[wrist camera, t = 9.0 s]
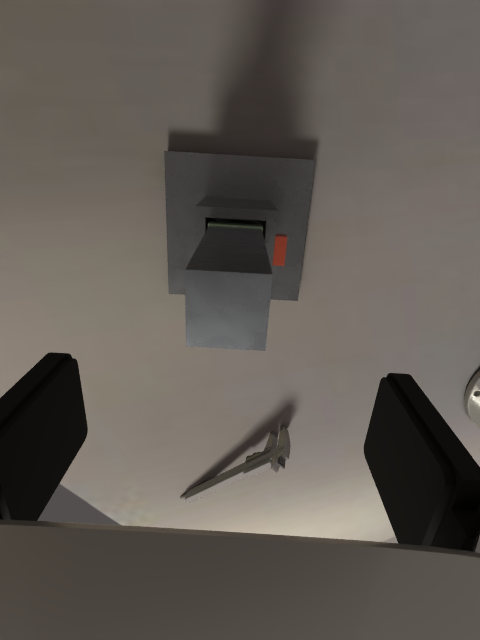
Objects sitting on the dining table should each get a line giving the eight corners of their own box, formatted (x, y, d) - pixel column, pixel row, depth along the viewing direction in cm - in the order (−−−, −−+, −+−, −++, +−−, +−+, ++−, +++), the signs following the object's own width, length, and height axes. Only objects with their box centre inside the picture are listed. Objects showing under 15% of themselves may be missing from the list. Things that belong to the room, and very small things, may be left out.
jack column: (261, 222, 29) (275, 272, 16) (257, 272, 31) (267, 352, 18) (210, 219, 29) (182, 267, 16) (209, 269, 31) (184, 348, 18)
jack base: (313, 159, 34) (334, 160, 26) (295, 295, 40) (308, 331, 32) (167, 151, 34) (143, 148, 26) (171, 289, 40) (152, 322, 32)
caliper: (282, 422, 48) (287, 458, 42) (287, 427, 48) (293, 463, 43) (180, 495, 54) (172, 535, 48) (185, 499, 54) (178, 539, 49)
